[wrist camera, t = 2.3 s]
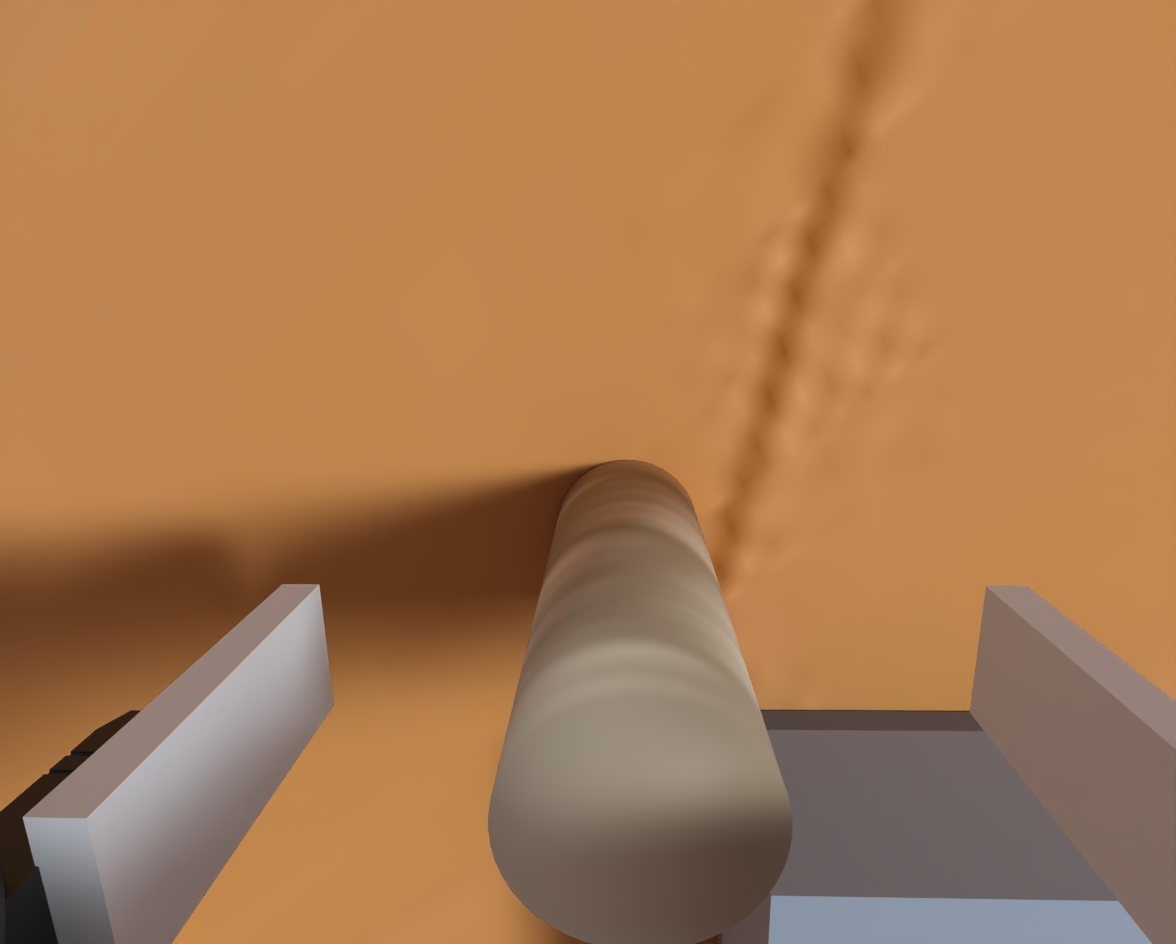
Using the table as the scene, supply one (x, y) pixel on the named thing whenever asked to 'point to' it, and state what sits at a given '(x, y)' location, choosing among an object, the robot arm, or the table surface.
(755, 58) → the table surface
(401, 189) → the table surface
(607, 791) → the peg
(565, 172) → the table surface
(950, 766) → the socket block
